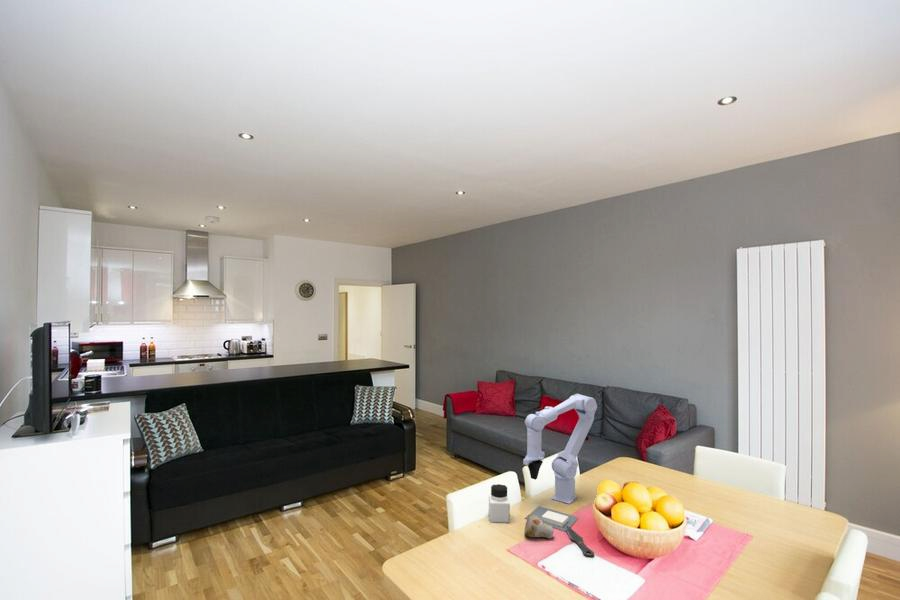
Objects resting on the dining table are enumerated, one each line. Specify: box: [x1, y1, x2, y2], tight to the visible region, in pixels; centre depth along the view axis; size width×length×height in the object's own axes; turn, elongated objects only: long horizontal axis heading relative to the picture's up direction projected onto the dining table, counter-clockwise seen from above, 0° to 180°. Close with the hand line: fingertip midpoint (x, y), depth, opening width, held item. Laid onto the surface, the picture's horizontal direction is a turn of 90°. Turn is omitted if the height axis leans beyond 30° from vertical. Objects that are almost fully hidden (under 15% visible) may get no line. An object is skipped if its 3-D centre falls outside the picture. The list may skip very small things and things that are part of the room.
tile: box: [542, 511, 569, 527], centre depth 155 cm, size 2×8×6 cm
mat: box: [524, 505, 579, 533], centre depth 158 cm, size 13×16×1 cm
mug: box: [523, 513, 555, 539], centre depth 145 cm, size 8×10×10 cm
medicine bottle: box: [488, 483, 511, 524], centre depth 158 cm, size 7×7×12 cm
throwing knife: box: [565, 525, 595, 558], centre depth 142 cm, size 4×20×1 cm, turn 8°
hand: (534, 478), depth 171 cm, fingers closed
